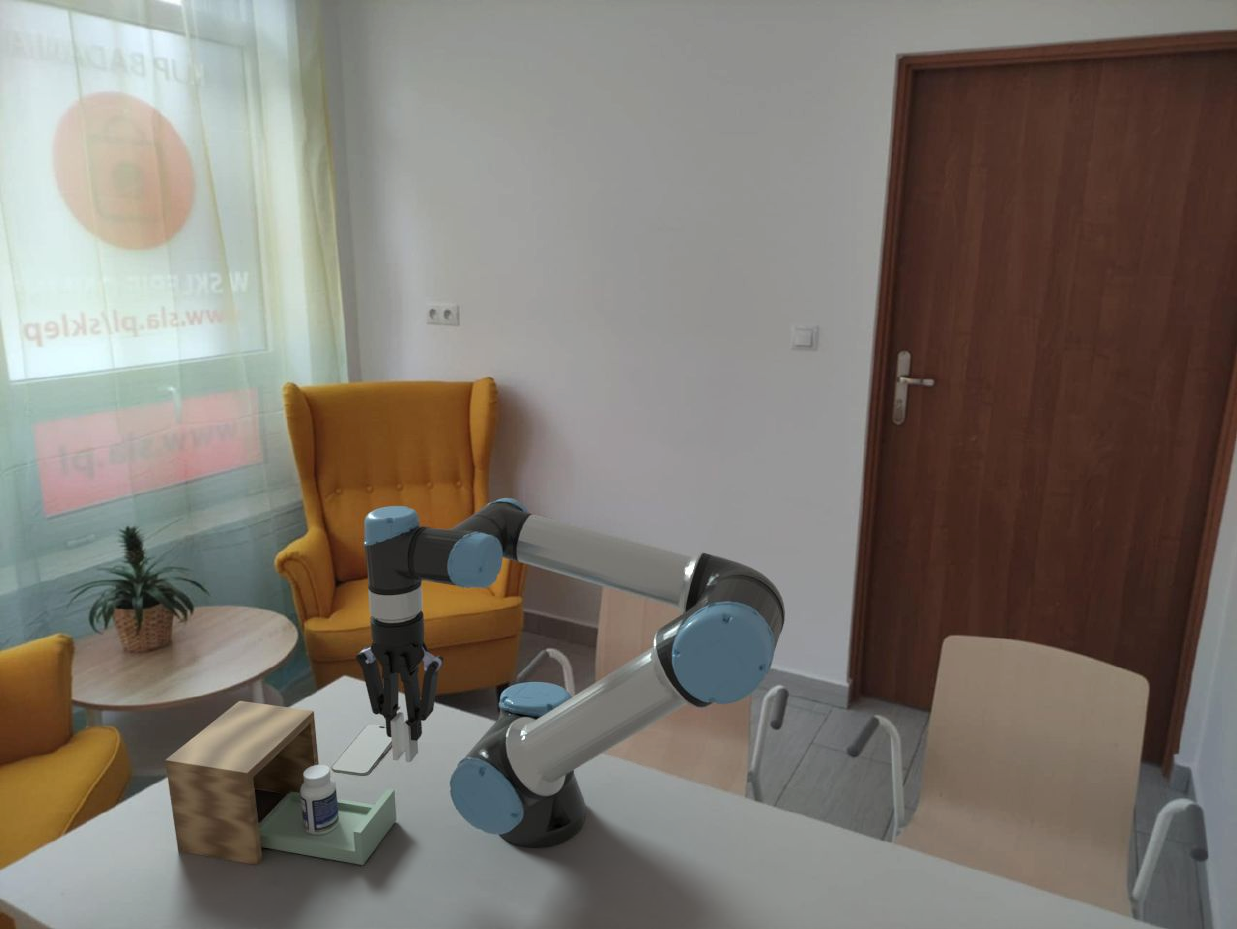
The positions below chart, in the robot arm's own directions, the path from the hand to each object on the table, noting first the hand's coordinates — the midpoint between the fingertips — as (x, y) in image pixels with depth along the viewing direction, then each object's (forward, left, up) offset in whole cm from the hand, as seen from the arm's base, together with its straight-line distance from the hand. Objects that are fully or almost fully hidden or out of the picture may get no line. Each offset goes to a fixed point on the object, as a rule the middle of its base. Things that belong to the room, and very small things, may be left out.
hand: (405, 756), depth 137 cm
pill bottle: (+16, 0, -15) cm, 22 cm away
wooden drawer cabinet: (+28, 0, -16) cm, 32 cm away
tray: (+15, 0, -16) cm, 22 cm away
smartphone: (+20, -23, -17) cm, 35 cm away
